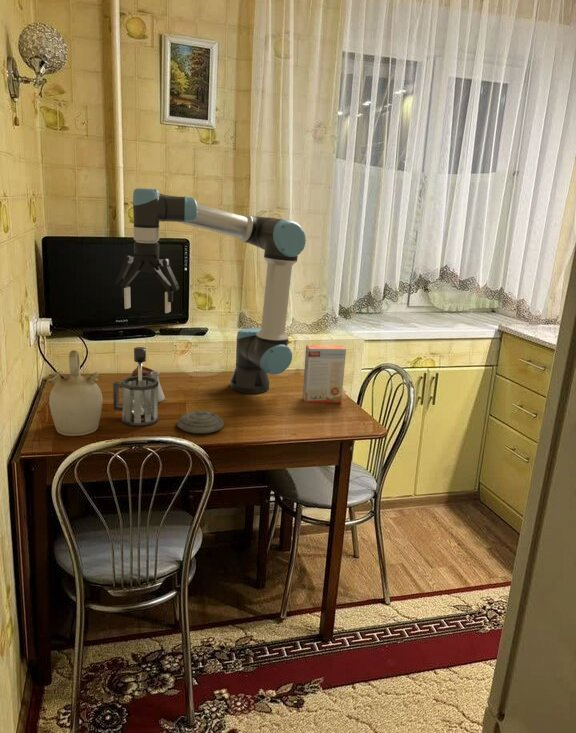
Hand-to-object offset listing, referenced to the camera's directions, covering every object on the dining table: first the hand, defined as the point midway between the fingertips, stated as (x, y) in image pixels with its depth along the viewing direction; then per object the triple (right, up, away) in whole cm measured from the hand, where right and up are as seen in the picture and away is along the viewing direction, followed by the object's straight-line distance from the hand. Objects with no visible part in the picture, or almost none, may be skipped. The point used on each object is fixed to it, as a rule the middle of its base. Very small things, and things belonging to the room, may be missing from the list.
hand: (147, 310), depth 190 cm
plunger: (-4, -32, +6) cm, 33 cm away
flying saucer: (+16, -38, +5) cm, 41 cm away
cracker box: (+57, -31, +36) cm, 74 cm away
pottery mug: (-11, -25, +40) cm, 48 cm away
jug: (-21, -37, -3) cm, 43 cm away
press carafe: (-6, -35, +7) cm, 36 cm away
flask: (-3, -30, +25) cm, 39 cm away
